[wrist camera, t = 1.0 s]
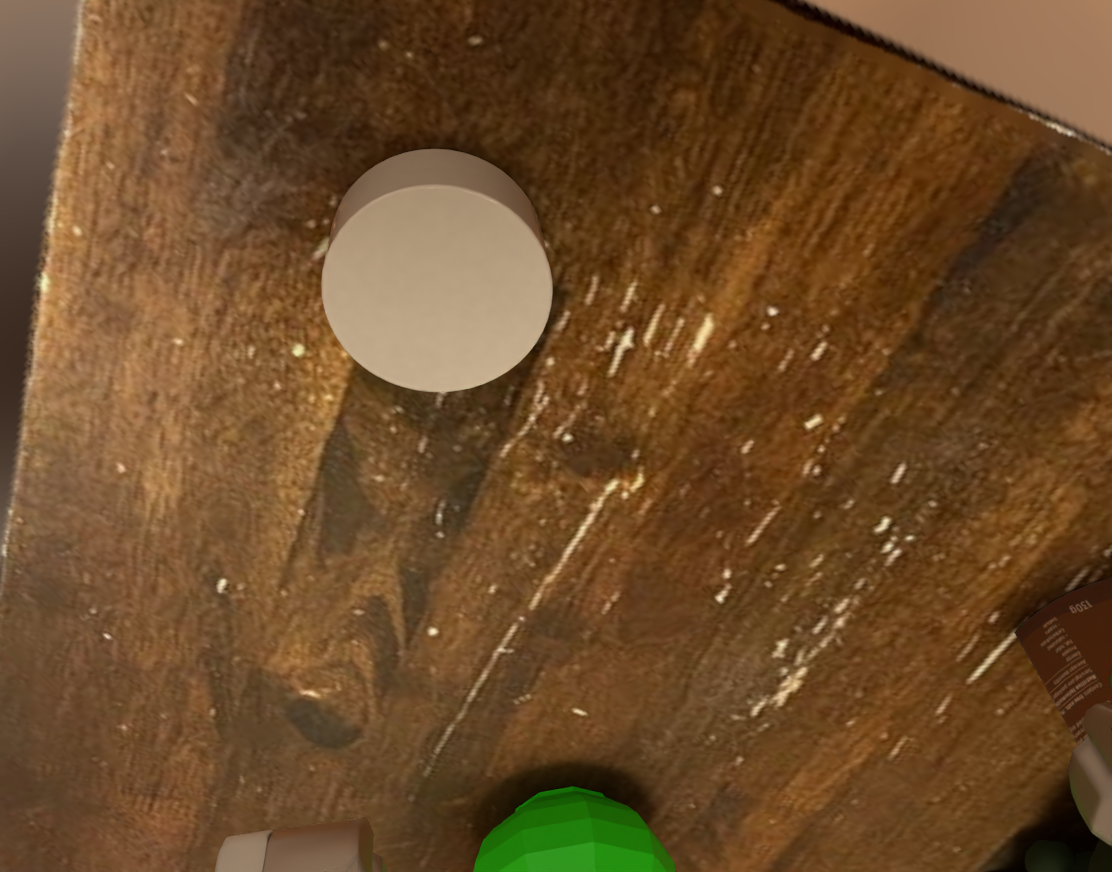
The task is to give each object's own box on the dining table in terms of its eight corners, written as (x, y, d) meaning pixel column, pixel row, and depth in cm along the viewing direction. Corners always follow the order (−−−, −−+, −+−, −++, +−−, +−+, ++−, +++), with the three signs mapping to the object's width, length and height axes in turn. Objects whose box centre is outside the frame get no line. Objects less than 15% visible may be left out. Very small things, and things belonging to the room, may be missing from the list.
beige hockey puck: (431, 100, 28) (431, 134, 25) (586, 249, 31) (599, 292, 28) (285, 254, 30) (272, 299, 27) (443, 379, 33) (444, 429, 31)
